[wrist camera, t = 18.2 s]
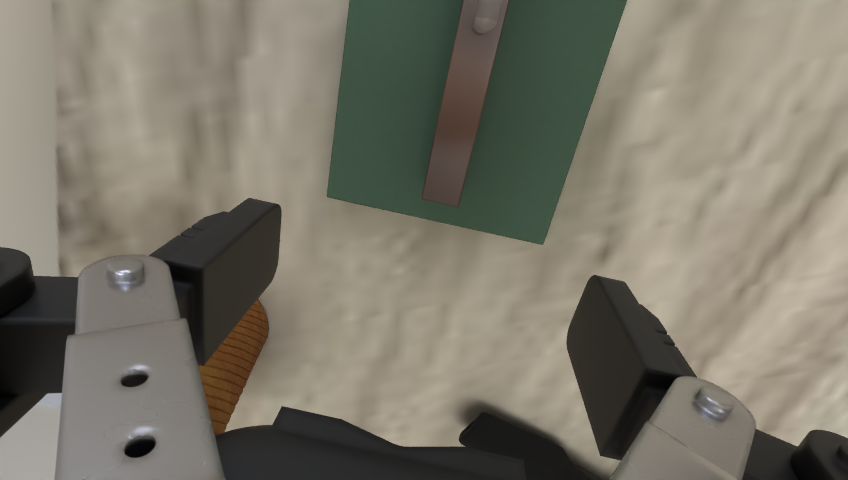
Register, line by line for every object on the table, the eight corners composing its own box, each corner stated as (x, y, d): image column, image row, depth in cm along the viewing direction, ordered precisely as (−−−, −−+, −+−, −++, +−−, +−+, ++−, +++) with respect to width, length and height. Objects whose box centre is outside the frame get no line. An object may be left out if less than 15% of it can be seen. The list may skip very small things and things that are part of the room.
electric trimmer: (482, 385, 30) (482, 422, 27) (656, 497, 32) (674, 542, 29) (448, 418, 31) (445, 457, 28) (617, 523, 33) (630, 569, 31)
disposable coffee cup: (277, 394, 31) (174, 584, 20) (143, 349, 31) (-36, 520, 20) (309, 283, 28) (203, 443, 17) (156, 229, 27) (-57, 358, 16)
